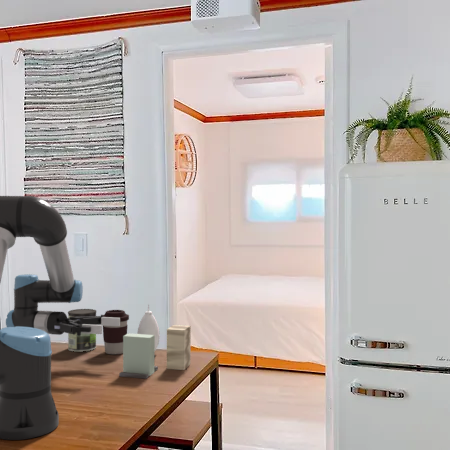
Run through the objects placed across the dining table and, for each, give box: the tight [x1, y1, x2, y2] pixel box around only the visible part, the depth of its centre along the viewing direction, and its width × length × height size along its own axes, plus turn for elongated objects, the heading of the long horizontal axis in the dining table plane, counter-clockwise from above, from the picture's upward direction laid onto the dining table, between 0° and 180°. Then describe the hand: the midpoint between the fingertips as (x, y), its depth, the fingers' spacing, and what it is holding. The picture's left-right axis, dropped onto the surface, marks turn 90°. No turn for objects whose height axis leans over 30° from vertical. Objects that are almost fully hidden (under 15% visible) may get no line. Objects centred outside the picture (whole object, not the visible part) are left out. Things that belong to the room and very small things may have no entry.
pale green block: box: [122, 332, 156, 377], centre depth 172 cm, size 4×9×12 cm, turn 77°
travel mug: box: [102, 309, 130, 355], centre depth 197 cm, size 10×10×15 cm
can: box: [67, 308, 97, 353], centre depth 202 cm, size 10×10×14 cm
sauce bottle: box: [136, 303, 161, 351], centre depth 195 cm, size 8×8×18 cm
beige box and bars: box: [118, 324, 192, 380], centre depth 175 cm, size 18×18×13 cm
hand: (111, 325), depth 175 cm, fingers open, 13 cm apart
